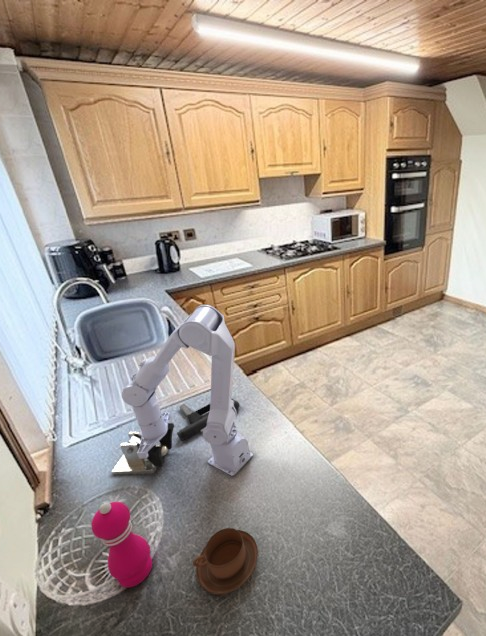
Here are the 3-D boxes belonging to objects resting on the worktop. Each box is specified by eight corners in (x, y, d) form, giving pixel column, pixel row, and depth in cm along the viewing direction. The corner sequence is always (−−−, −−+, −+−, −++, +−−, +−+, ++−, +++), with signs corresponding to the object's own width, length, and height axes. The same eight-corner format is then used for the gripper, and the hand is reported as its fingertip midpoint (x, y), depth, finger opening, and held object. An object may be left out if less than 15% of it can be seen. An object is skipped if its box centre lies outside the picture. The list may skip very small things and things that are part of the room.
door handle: (160, 413, 109) (181, 436, 98) (218, 384, 122) (242, 402, 111) (163, 421, 111) (184, 445, 100) (219, 392, 123) (244, 411, 112)
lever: (168, 451, 96) (170, 443, 95) (163, 460, 93) (165, 452, 92) (131, 441, 95) (133, 433, 93) (125, 450, 92) (127, 442, 91)
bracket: (168, 447, 100) (161, 425, 96) (153, 473, 92) (145, 450, 88) (130, 448, 100) (121, 426, 96) (112, 474, 92) (102, 451, 88)
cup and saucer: (210, 614, 63) (203, 596, 60) (190, 559, 72) (183, 540, 69) (269, 570, 69) (265, 552, 66) (244, 524, 78) (240, 506, 75)
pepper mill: (145, 544, 75) (116, 480, 66) (161, 567, 71) (133, 501, 62) (109, 573, 70) (73, 508, 61) (125, 599, 66) (88, 533, 57)
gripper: (148, 400, 96) (160, 437, 102) (119, 439, 83) (135, 479, 89) (173, 399, 95) (184, 436, 101) (148, 439, 82) (162, 478, 88)
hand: (163, 456), depth 95 cm, fingers open, 5 cm apart
